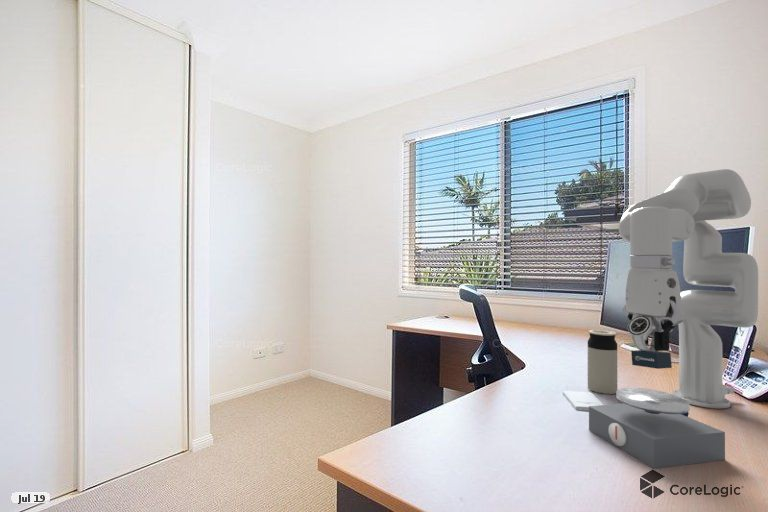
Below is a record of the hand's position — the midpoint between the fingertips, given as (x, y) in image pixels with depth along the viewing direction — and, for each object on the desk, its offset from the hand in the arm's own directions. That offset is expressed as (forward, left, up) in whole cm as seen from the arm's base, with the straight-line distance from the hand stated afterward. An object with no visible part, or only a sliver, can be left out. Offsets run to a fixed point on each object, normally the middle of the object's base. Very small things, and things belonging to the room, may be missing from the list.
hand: (651, 346), depth 83 cm
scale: (0, 0, -21) cm, 21 cm away
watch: (+1, +1, -4) cm, 4 cm away
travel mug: (-16, -32, -21) cm, 41 cm away
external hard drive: (-3, -24, -22) cm, 33 cm away
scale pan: (0, 0, -14) cm, 14 cm away
